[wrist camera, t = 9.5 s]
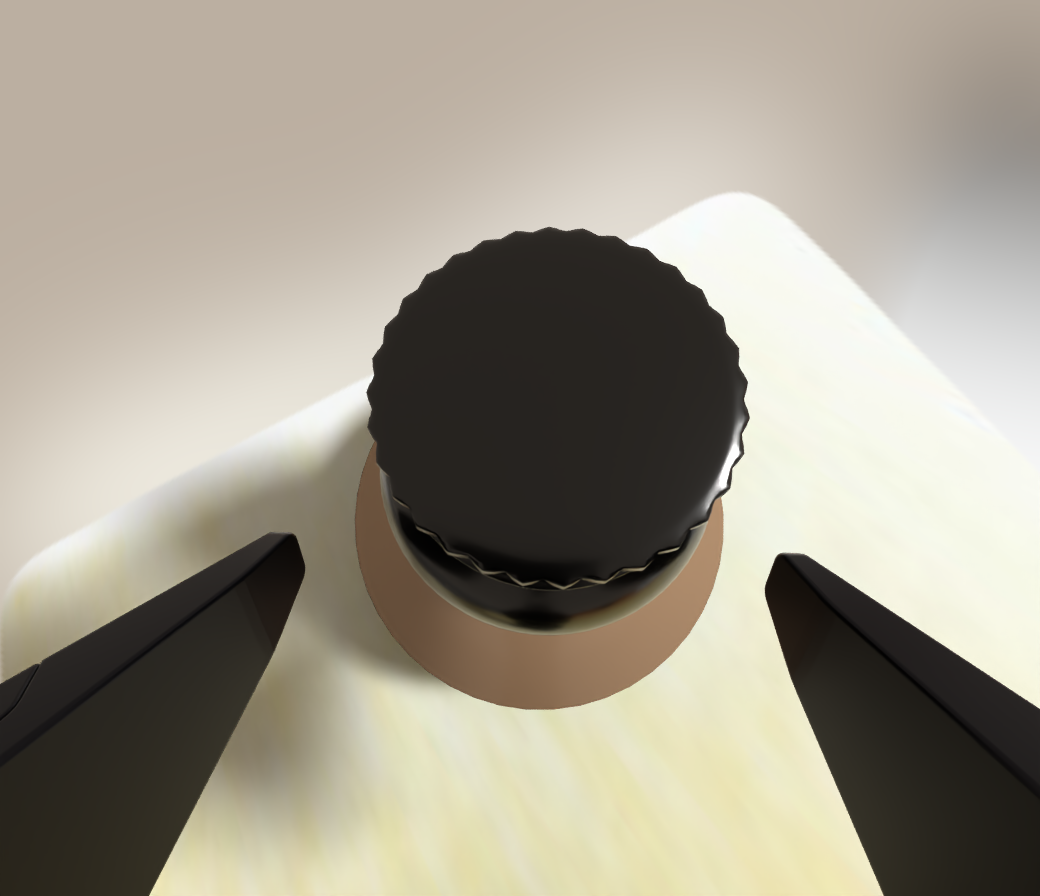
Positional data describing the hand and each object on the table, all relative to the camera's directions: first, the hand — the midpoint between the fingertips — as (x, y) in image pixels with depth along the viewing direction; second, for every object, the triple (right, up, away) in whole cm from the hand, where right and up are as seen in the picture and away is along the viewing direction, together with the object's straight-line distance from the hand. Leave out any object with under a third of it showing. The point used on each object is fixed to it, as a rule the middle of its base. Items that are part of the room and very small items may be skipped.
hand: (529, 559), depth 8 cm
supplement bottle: (+1, 0, +9) cm, 9 cm away
